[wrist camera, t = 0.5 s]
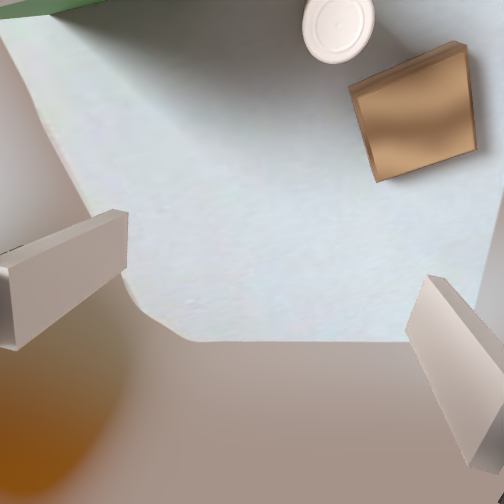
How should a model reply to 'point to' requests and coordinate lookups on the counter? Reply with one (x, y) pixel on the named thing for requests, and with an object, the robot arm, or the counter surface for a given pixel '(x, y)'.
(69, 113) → the counter surface
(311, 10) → the sprinkles bottle
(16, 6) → the hardback book
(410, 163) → the walnut base
